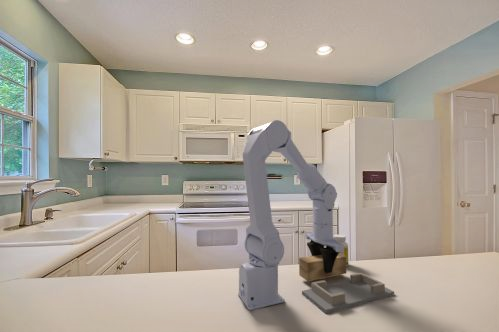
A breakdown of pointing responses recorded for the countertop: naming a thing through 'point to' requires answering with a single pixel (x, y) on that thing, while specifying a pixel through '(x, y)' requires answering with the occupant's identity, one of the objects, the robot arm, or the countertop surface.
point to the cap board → (346, 293)
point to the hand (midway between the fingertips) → (323, 269)
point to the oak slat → (320, 267)
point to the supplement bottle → (342, 240)
